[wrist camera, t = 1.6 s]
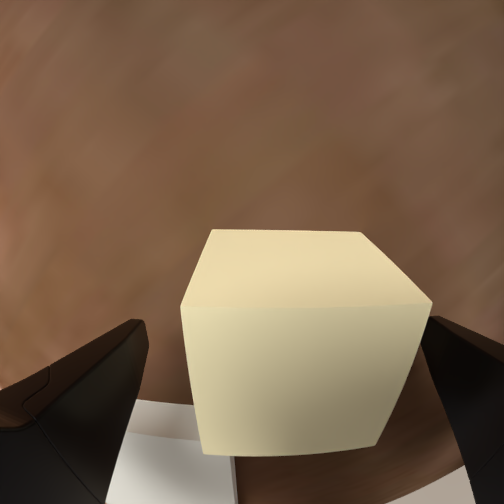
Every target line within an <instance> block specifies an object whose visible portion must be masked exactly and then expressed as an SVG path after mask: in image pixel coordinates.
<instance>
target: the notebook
mask: <svg viewBox="0 0 504 504" xmlns="http://www.w3.org/2000/svg"><path fill="white" fill-rule="evenodd" d="M105 502H106V503H107V504H238V497H237V485H236V473H235V460H234V456H222V455H206V454H203V450H202V445H201V440H200V435H199V430H198V425H197V419H196V414H195V408H194V405H185V404H173V403H163V402H154V401H146V400H138V399H136V402H135V405H134V408H133V411H132V414H131V417H130V420H129V423H128V426H127V430H126V433H125V436H124V439H123V442H122V445H121V449H120V452H119V455H118V459H117V462H116V465H115V469H114V472H113V476H112V479H111V483H110V486H109V490H108V494H107V497H106V501H105Z"/></svg>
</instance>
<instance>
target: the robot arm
mask: <svg viewBox="0 0 504 504" xmlns="http://www.w3.org/2000/svg"><path fill="white" fill-rule="evenodd" d="M420 343H421V347H422V350H423V353H424V355H425V358H426V361H427V365H428V368H429V371H430V374H431V377H432V380H433V382H434V385H435V387H436V389H437V392H438V394H439V397H440V399H441V401H442V404H443V406H444V409H445V411H446V414H447V417H448V419H449V422H450V424H451V427H452V430H453V432H454V435H455V438H456V441H457V444H458V446H459V449H460V452H461V455H462V458H463V461H464V464H465V467H466V470H467V474H468V477H469V480H470V484H471V488H472V491H473V495H474V499H475V503H476V504H504V345H502V344H500V343H498V342H496V341H494V340H491V339H489V338H487V337H485V336H483V335H480V334H478V333H476V332H474V331H472V330H469V329H467V328H465V327H463V326H461V325H458V324H456V323H454V322H452V321H449V320H447V319H445V318H443V317H441V316H430V317H428V320H427V323H426V326H425V329H424V332H423V335H422V338H421V341H420ZM148 349H149V341H148V336H147V331H146V326H145V323H144V321H143V320H140V319H130V320H128V321H126V322H125V323H123V324H121V325H119V326H117V327H116V328H114V329H112V330H110V331H109V332H107V333H105V334H103V335H102V336H100V337H98V338H96V339H95V340H93V341H91V342H89V343H88V344H86V345H84V346H82V347H81V348H79V349H77V350H75V351H74V352H72V353H70V354H68V355H67V356H65V357H63V358H61V359H60V360H58V361H56V362H54V363H53V364H51V365H50V367H49V366H47V367H45V368H44V369H42V370H40V371H38V372H37V373H35V374H33V375H31V376H29V377H27V378H25V379H23V380H21V381H19V382H17V383H15V384H13V385H11V386H9V387H6V388H4V389H2V390H0V504H105V501H106V497H107V494H108V490H109V486H110V483H111V479H112V476H113V472H114V469H115V465H116V462H117V459H118V455H119V452H120V449H121V445H122V442H123V439H124V436H125V433H126V430H127V426H128V423H129V420H130V417H131V414H132V411H133V408H134V405H135V402H136V399H137V396H138V393H139V390H140V386H141V381H142V377H143V372H144V367H145V363H146V358H147V354H148Z"/></svg>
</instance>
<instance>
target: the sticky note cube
mask: <svg viewBox="0 0 504 504" xmlns="http://www.w3.org/2000/svg"><path fill="white" fill-rule="evenodd" d="M432 303H433V302H432V301H431V300H430V299H429V298H428V297H427V296H426V295H425V294H424V293H423V292H422V291H421V290H420V289H419V288H418V287H417V286H416V285H415V284H414V283H413V282H412V281H411V280H410V279H409V278H408V277H407V276H406V275H405V274H404V273H403V272H402V271H401V270H400V269H399V268H398V267H397V266H396V265H395V264H394V263H393V262H392V261H391V260H390V259H389V258H388V257H387V256H386V255H385V254H384V253H382V252H381V251H380V250H379V249H378V248H377V247H376V246H375V245H374V244H373V243H372V242H371V241H370V240H369V239H367V238H366V237H365V236H364V235H363V234H362V233H361V232H337V231H293V230H212V231H211V233H210V235H209V238H208V240H207V242H206V245H205V247H204V249H203V252H202V254H201V257H200V259H199V261H198V264H197V266H196V269H195V271H194V273H193V276H192V278H191V281H190V283H189V286H188V288H187V291H186V293H185V295H184V298H183V300H182V303H181V306H180V308H181V317H182V326H183V334H184V342H185V349H186V357H187V364H188V371H189V377H190V384H191V390H192V396H193V402H194V408H195V414H196V419H197V425H198V430H199V435H200V440H201V445H202V450H203V454H206V455H222V456H288V455H305V454H317V453H327V452H336V451H344V450H351V449H358V448H364V447H370V446H375V445H376V443H377V441H378V439H379V437H380V435H381V433H382V431H383V429H384V427H385V425H386V423H387V421H388V419H389V417H390V415H391V413H392V411H393V409H394V406H395V404H396V402H397V400H398V398H399V395H400V393H401V391H402V388H403V386H404V384H405V381H406V379H407V376H408V374H409V371H410V369H411V366H412V363H413V361H414V358H415V355H416V353H417V350H418V347H419V344H420V341H421V338H422V335H423V332H424V329H425V326H426V323H427V320H428V317H429V313H430V310H431V307H432Z"/></svg>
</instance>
